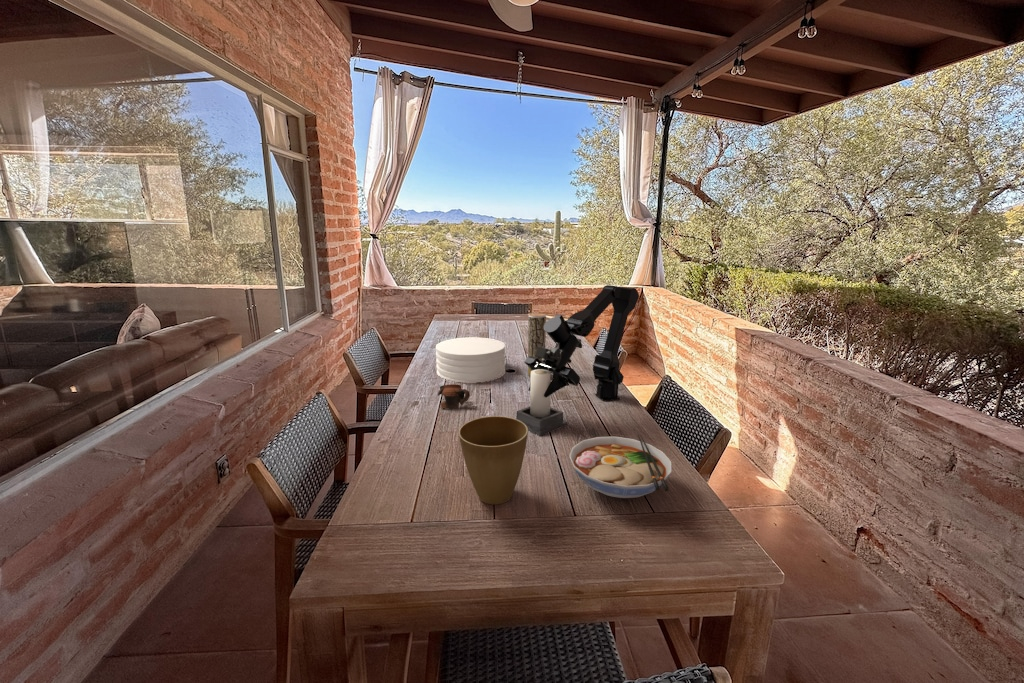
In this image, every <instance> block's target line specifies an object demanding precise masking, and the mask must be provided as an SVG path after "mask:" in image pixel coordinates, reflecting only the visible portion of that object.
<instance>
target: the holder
mask: <svg viewBox="0 0 1024 683" xmlns="http://www.w3.org/2000/svg"><path fill="white" fill-rule="evenodd" d="M516 419H517V420H519V421H521V422H523V423H524V424H525V425H526V426H527V428H528V432H529V431H530V433H531V432H532V434H534V433H535V434H534V435H536V434H537V435H536V436H538V435H539V436H538V437H542V436H544V435H546V433H547V434H549V433H551V432H554V431H556V430H559V429H561V428H563V427H565V425H566V426H568V424H569V422H568V421H567V420H565V419H564V412H563V411H561V410H559V409H556V408H554V407H551V406H550V415H549V416H547V417H535V416H532V415H531V414H530V406H527V407H524V408H522V409H519V410H516ZM560 427H561V428H560ZM558 428H559V429H558ZM555 429H556V430H555ZM553 430H554V431H553ZM548 432H549V433H548ZM543 434H544V435H543ZM541 435H542V436H541Z"/></svg>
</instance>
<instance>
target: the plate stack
mask: <svg viewBox="0 0 1024 683" xmlns="http://www.w3.org/2000/svg"><path fill="white" fill-rule="evenodd" d="M505 350H506V344H505V343H504V342H503V341H501V340H498V339H493V338H489V337H488V338H487V337H479V336H478V337H474V336H473V337H472V336H471V337H458V338H451V339H450V338H449V339H447V340H442V341H440V342H439V343H437V344H436V345H435V357H436V359H435V361H436V364H435V365H436V376H437V375H438V376H440V377H441V378H444V379H446V380H450V381H455V382H454V383H456V382H464V383H463V384H477V383H476V382H481V383H486V382H485V381H487V382H491V381H490V380H492V381H494V379H495V380H497V378H498V379H500V378H502V377H503V376H504V375H505V374H506V351H505ZM438 376H437V377H438ZM501 376H502V377H501ZM441 378H440V379H441ZM446 380H445V381H446ZM450 381H449V382H450ZM465 382H466V383H465Z"/></svg>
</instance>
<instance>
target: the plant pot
mask: <svg viewBox="0 0 1024 683" xmlns="http://www.w3.org/2000/svg"><path fill="white" fill-rule="evenodd" d="M528 432H529V431H528V428H527V426H526V425H525V424H524V423H523V422H521V421H519V420H517V418H513V417H510V416H501V415H491V416H482V417H477V418H474V419H471V420H469V421H466V422H465V423H464V424H463V425H461V426H460V427H459V430H458V436H459V438H458V439H459V442H460V447H461V451H462V455H463V459H464V463H465V467H466V469H467V473H468V475H469V477H470V481H471V482H472V485H473V488H474V489H475V492H476V494H477V496H478V498H479V499H480V501H481V502H483V503H485V504H487V505H500V504H501V505H502V504H504V503H507V502H508V501H510V499H511V498H512V495H513V493H514V492H515V491H514V490H515V489H516V485H517V482H518V480H519V477H520V474H521V469H522V466H523V462H524V458H525V453H526V447H527V441H528V435H529V433H528Z"/></svg>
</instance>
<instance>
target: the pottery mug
mask: <svg viewBox="0 0 1024 683" xmlns="http://www.w3.org/2000/svg"><path fill="white" fill-rule="evenodd" d="M440 395H442V396H443V397H444V400H445V401H441V402H440V408H441V409H442V408H445V409H444V410H446V409H447V410H448V409H451V410H454V409H455V408H458V409H459V405H460V406H463V405H464V404H465V403H466V402H468V401H469V399H470V397H471V395H470V391H469V390H468V389H467V388H466V389H465V388H464V389H462V385H461V384H453V383H452V384H443V385H440V386H439V390H438V392H437V396H438V397H439V396H440ZM455 410H456V409H455Z"/></svg>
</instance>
